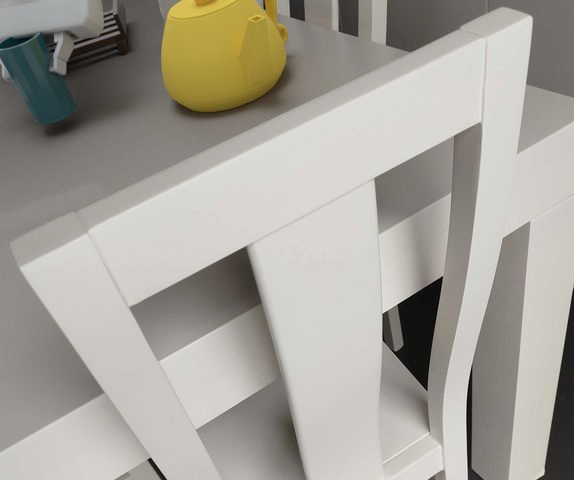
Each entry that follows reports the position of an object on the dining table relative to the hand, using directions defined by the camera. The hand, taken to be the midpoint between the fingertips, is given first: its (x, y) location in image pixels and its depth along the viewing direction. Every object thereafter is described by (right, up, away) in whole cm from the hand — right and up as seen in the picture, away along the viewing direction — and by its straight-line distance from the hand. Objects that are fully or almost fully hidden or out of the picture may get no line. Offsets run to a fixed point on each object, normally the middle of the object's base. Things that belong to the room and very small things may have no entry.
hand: (33, 77), depth 79 cm
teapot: (+28, -1, +1) cm, 28 cm away
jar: (+20, +13, +16) cm, 28 cm away
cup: (+1, -3, +4) cm, 5 cm away
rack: (-1, +17, +27) cm, 32 cm away
